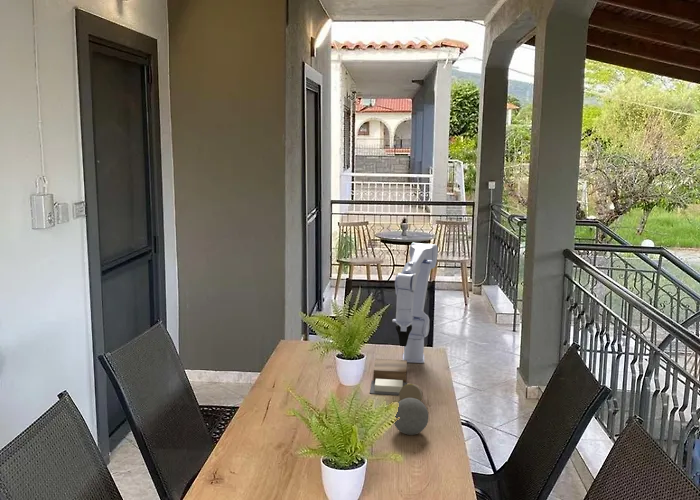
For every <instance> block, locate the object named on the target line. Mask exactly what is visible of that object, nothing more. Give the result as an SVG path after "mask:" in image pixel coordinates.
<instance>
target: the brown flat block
mask: <svg viewBox="0 0 700 500" xmlns="http://www.w3.org/2000/svg"><path fill="white" fill-rule="evenodd" d="M407 363H408V362H407V360H403V359H392V358H391V359H390V358H375V361H374V367H373V379H372V381H375V380H376V379H392V380H403V382H405V383H407V371H408V370H407V365H408V364H407Z"/></svg>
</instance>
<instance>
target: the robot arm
mask: <svg viewBox="0 0 700 500" xmlns="http://www.w3.org/2000/svg"><path fill="white" fill-rule="evenodd" d="M438 247H439V246H438V245H437V244H436V243H434V244H433V243H421V242H414V241H413V242H412V243H411V244H410V246H409V258H410V260H409V261H407V262H406V263H405V264H404V266H403V268H402V270H401V272H400V273H398V274H397V275H396V276H395V279H394V288H395V295H396V305H395V306H396V310H395V311H396V312H395V318H393V319H392V323H395V330H396V332H397V333H396V334H397V336H398V342H399V346H400V347H403V348H404V349H403V353H402V360H407V363H417V364H425V349H424V348H425V338H426V337H427V336H428V335H429V332H430V317H429V315H428V314H426V312H425V311H424V310H425V303H426V297H427V292H428V284H429V280H430V279H429V278H430V274H431V271H432V270H433V269H434V268H436V266H437V263H438V255H439V248H438Z"/></svg>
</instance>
